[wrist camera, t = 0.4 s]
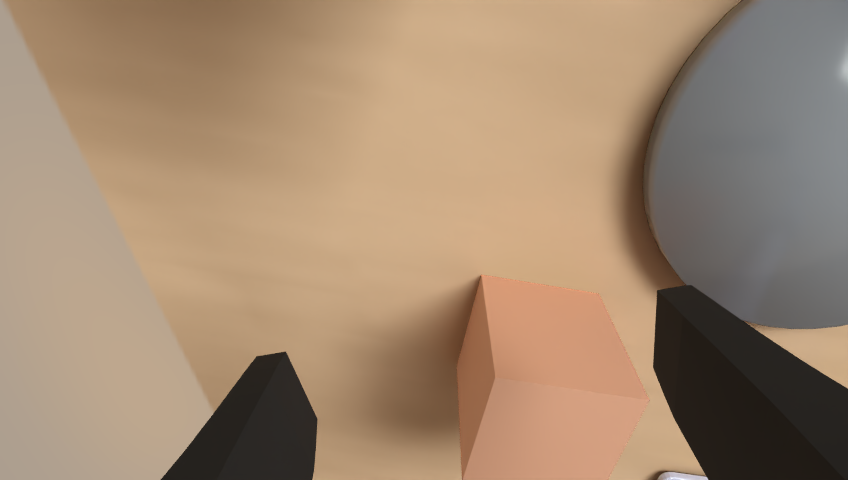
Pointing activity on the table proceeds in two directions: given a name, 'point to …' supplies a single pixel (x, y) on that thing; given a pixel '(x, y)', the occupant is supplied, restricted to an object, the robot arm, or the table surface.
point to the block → (543, 385)
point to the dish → (759, 165)
